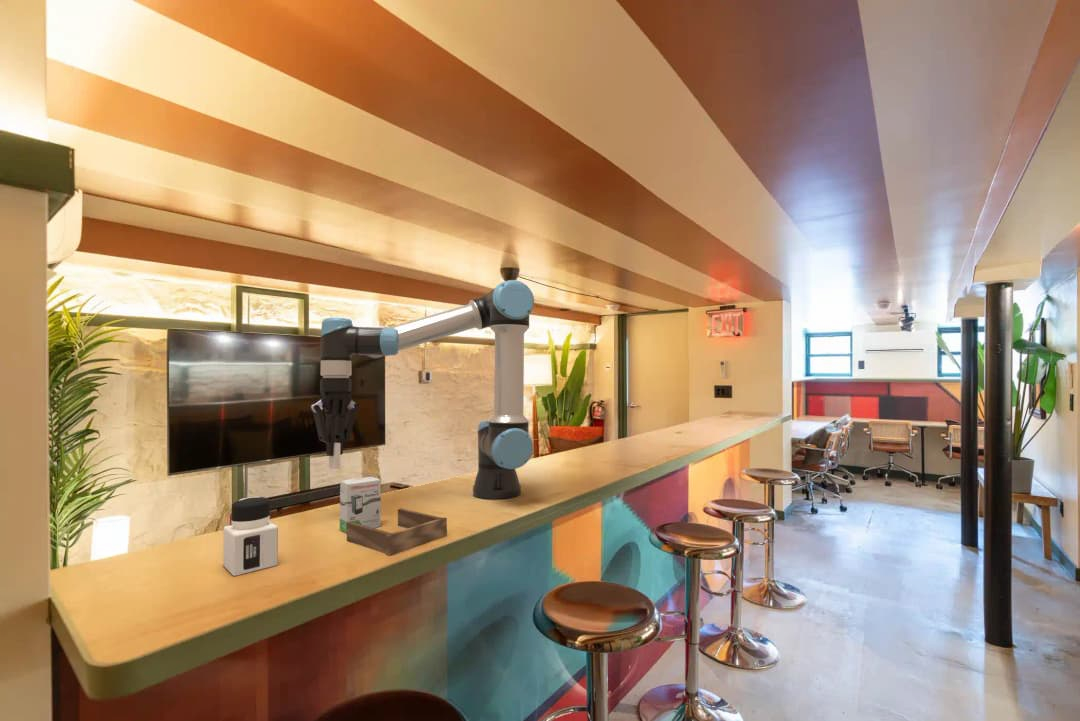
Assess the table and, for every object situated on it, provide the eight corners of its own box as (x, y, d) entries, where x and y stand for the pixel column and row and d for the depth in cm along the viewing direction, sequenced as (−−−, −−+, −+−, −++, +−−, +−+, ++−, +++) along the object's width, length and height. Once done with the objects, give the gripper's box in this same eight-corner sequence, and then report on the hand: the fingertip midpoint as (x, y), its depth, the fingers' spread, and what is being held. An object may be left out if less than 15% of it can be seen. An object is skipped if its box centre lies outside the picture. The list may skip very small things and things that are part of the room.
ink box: (346, 534, 116) (346, 483, 116) (338, 529, 120) (339, 480, 120) (381, 526, 121) (381, 478, 122) (373, 522, 125) (373, 475, 126)
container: (278, 565, 96) (279, 498, 97) (233, 577, 91) (234, 506, 91) (265, 555, 102) (266, 492, 102) (222, 566, 96) (223, 499, 97)
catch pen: (402, 524, 123) (402, 507, 124) (446, 535, 114) (446, 517, 114) (344, 541, 111) (344, 523, 111) (388, 555, 101) (388, 536, 101)
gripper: (350, 377, 136) (348, 463, 135) (304, 377, 125) (302, 470, 124) (366, 377, 132) (365, 466, 130) (319, 377, 121) (318, 473, 120)
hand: (334, 468), depth 127 cm, fingers closed
